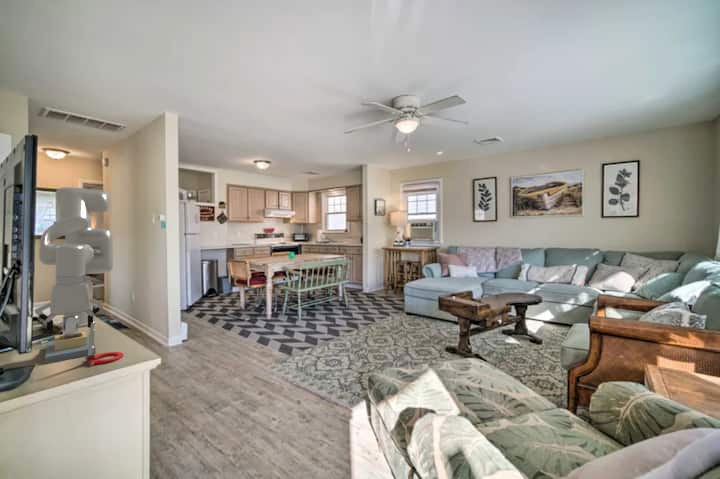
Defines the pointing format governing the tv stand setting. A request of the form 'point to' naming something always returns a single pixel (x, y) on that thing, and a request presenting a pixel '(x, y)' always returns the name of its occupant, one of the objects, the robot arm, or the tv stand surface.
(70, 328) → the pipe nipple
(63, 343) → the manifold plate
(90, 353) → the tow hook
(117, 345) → the tv stand surface
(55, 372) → the tv stand surface
